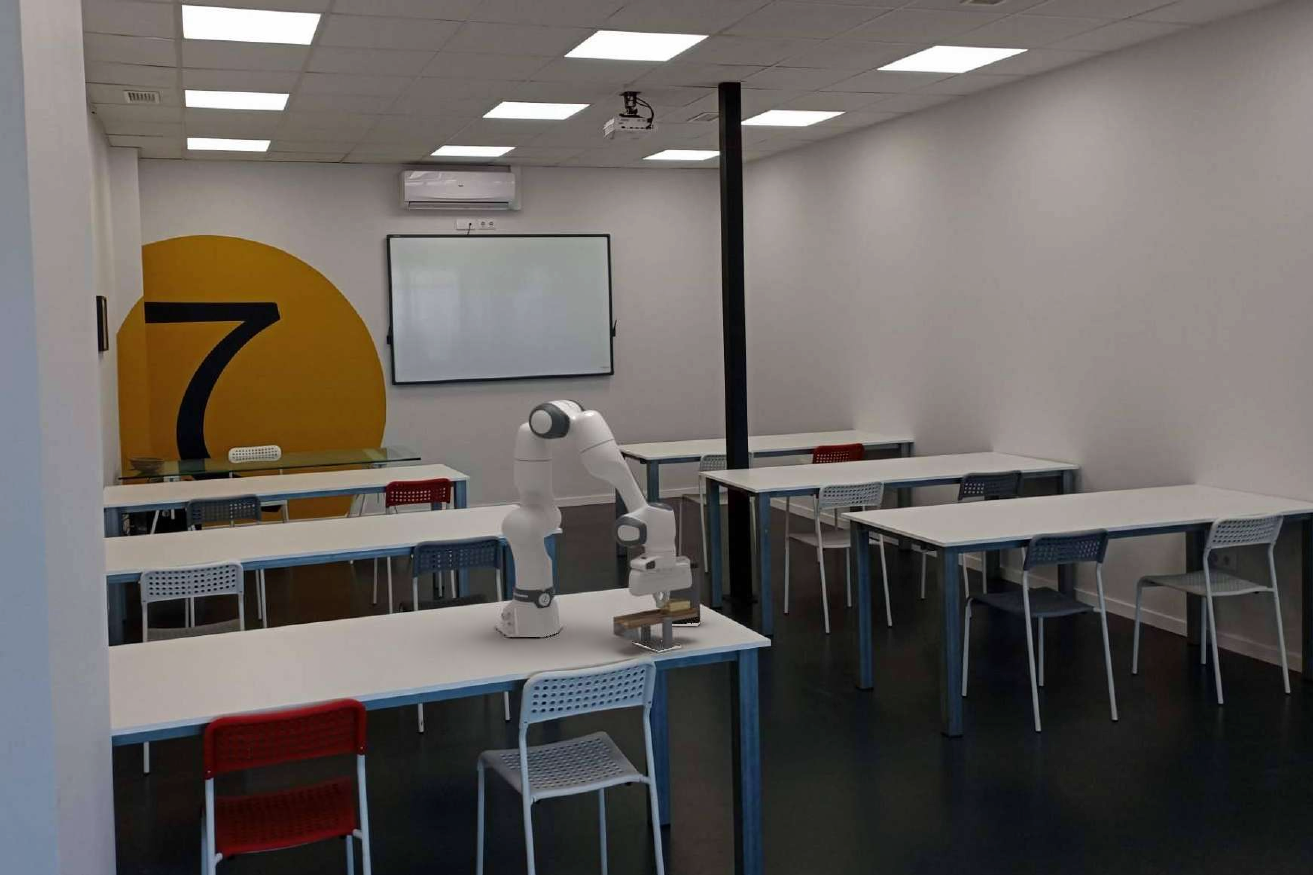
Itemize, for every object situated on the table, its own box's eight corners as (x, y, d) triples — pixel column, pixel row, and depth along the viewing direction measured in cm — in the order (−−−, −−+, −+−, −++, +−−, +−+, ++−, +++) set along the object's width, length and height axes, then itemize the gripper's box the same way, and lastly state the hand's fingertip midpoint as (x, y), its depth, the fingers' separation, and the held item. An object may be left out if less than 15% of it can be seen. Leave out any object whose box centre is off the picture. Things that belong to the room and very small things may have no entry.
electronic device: (700, 622, 349) (699, 558, 347) (699, 627, 343) (698, 562, 341) (670, 622, 350) (669, 558, 348) (669, 627, 344) (667, 562, 342)
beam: (613, 634, 318) (613, 617, 318) (681, 621, 332) (680, 604, 332) (629, 640, 312) (629, 622, 311) (697, 626, 326) (697, 609, 326)
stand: (632, 643, 325) (631, 613, 325) (654, 639, 330) (654, 608, 329) (658, 653, 315) (658, 621, 314) (681, 648, 320) (680, 616, 319)
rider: (659, 611, 326) (660, 599, 326) (679, 609, 330) (679, 597, 330) (670, 615, 322) (670, 602, 322) (689, 612, 326) (689, 600, 326)
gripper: (682, 553, 330) (683, 599, 331) (625, 562, 318) (626, 610, 320) (696, 556, 325) (696, 603, 326) (638, 565, 313) (638, 614, 314)
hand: (661, 607), depth 323 cm, fingers closed
